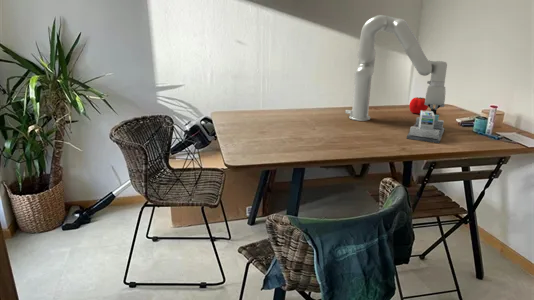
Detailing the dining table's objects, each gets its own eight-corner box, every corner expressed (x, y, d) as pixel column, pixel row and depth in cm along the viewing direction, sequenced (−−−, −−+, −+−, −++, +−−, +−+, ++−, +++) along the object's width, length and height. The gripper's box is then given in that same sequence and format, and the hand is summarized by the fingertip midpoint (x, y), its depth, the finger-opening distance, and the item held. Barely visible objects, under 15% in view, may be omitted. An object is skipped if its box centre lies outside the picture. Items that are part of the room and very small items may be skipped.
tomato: (403, 111, 274) (405, 96, 270) (418, 110, 279) (420, 94, 276) (416, 116, 264) (419, 99, 261) (431, 114, 270) (434, 98, 266)
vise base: (406, 138, 221) (407, 127, 219) (414, 126, 242) (415, 116, 240) (439, 143, 215) (441, 132, 213) (444, 130, 236) (445, 120, 234)
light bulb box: (432, 136, 221) (435, 115, 217) (418, 134, 222) (421, 114, 219) (430, 130, 231) (433, 110, 227) (417, 129, 232) (420, 109, 229)
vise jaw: (415, 125, 238) (416, 114, 236) (417, 122, 243) (418, 112, 241) (442, 128, 233) (443, 118, 231) (443, 126, 238) (444, 115, 236)
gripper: (422, 83, 237) (418, 115, 243) (451, 86, 231) (446, 119, 237) (424, 81, 244) (420, 113, 250) (452, 84, 237) (447, 115, 243)
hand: (432, 115), depth 243 cm, fingers closed
